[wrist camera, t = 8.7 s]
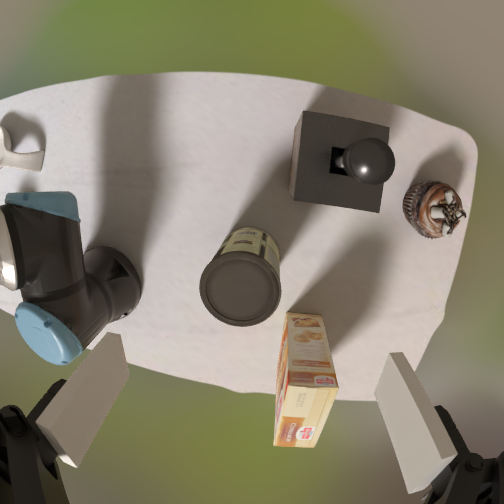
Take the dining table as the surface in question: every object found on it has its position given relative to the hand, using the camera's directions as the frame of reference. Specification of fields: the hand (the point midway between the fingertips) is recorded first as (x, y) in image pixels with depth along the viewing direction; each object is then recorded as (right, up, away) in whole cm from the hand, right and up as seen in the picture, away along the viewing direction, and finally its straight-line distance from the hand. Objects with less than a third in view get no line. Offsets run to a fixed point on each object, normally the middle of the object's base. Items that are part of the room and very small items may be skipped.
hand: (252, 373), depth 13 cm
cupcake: (+30, +14, +31) cm, 45 cm away
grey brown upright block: (+11, +20, +31) cm, 38 cm away
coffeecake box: (+9, -12, +41) cm, 44 cm away
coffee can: (0, +5, +37) cm, 37 cm away
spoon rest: (-56, +29, +34) cm, 72 cm away
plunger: (+11, +18, +26) cm, 34 cm away
